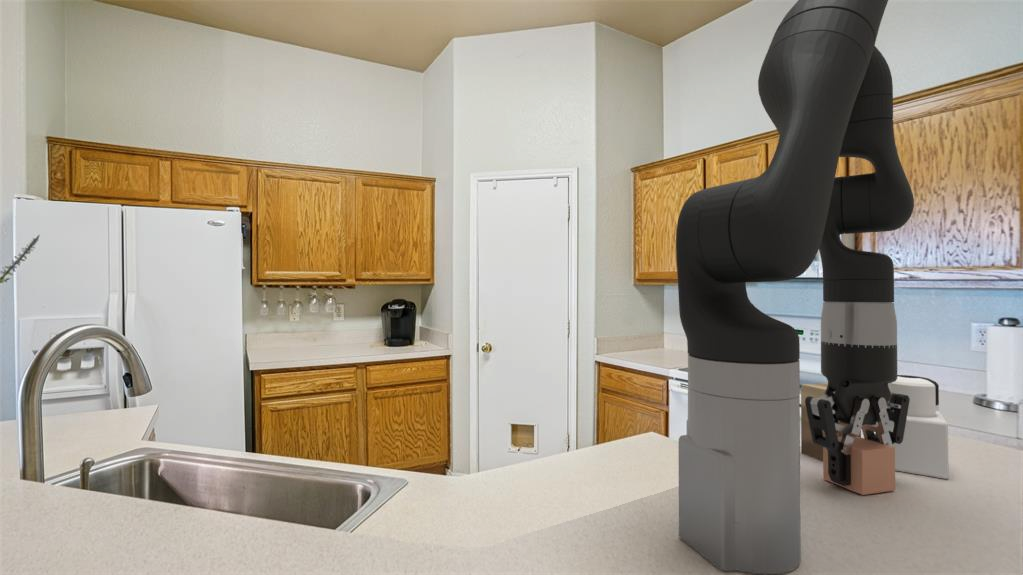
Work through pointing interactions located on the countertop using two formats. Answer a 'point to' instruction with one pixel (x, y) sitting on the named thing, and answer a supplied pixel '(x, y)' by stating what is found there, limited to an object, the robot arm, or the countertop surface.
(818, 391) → the tower top
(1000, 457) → the countertop surface
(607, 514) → the countertop surface
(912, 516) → the countertop surface
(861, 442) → the clay block
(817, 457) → the tower bottom
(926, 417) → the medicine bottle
